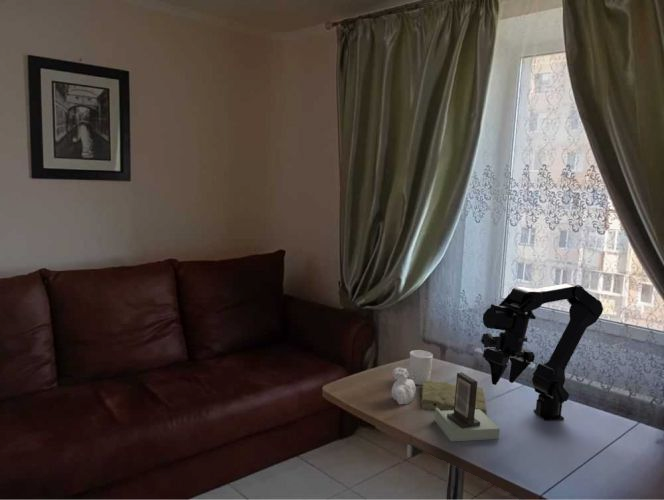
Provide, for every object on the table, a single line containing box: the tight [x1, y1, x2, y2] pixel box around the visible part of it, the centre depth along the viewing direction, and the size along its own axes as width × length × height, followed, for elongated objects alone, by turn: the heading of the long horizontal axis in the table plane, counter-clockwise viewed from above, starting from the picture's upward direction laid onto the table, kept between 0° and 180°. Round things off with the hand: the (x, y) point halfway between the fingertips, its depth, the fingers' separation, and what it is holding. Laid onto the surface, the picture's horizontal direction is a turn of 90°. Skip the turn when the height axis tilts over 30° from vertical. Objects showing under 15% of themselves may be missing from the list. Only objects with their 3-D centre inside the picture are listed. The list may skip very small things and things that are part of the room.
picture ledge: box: [434, 408, 500, 442], centre depth 149 cm, size 14×12×4 cm
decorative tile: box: [421, 380, 488, 417], centre depth 167 cm, size 18×20×4 cm
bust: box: [391, 367, 417, 405], centre depth 167 cm, size 12×8×11 cm
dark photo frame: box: [447, 372, 480, 429], centre depth 147 cm, size 6×7×13 cm
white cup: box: [409, 349, 434, 386], centre depth 182 cm, size 8×8×10 cm
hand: (502, 383), depth 152 cm, fingers open, 9 cm apart
